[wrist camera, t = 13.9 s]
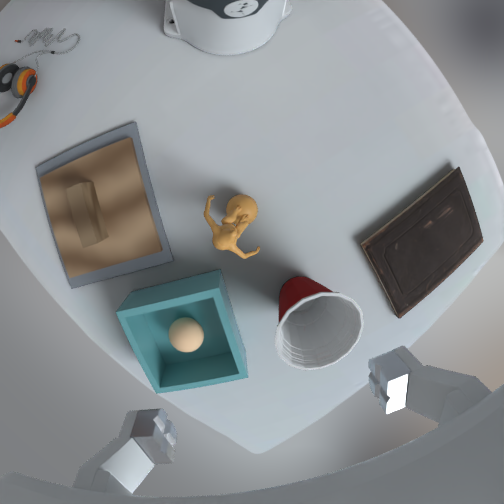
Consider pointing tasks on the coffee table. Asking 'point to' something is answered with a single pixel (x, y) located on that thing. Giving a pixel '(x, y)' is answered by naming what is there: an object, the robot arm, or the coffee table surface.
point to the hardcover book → (425, 242)
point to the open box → (178, 306)
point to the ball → (186, 334)
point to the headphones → (23, 76)
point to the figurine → (239, 213)
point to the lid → (100, 210)
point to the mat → (166, 253)
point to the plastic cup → (315, 324)
